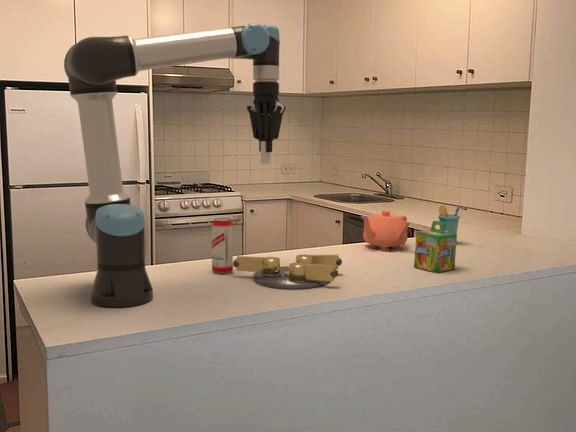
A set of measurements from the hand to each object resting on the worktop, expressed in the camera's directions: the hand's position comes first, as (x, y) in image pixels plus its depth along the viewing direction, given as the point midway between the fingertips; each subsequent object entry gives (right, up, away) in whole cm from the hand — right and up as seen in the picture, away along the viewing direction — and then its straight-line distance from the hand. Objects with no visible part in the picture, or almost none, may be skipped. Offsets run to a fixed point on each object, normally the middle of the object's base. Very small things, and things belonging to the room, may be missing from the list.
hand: (265, 163), depth 187 cm
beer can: (-13, -32, +4) cm, 35 cm away
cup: (+66, -26, +49) cm, 86 cm away
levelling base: (+8, -33, -4) cm, 35 cm away
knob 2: (+16, -31, +1) cm, 35 cm away
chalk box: (+52, -32, +11) cm, 62 cm away
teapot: (+41, -27, +41) cm, 64 cm away
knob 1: (-3, -32, -3) cm, 32 cm away
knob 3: (+14, -33, -11) cm, 37 cm away
